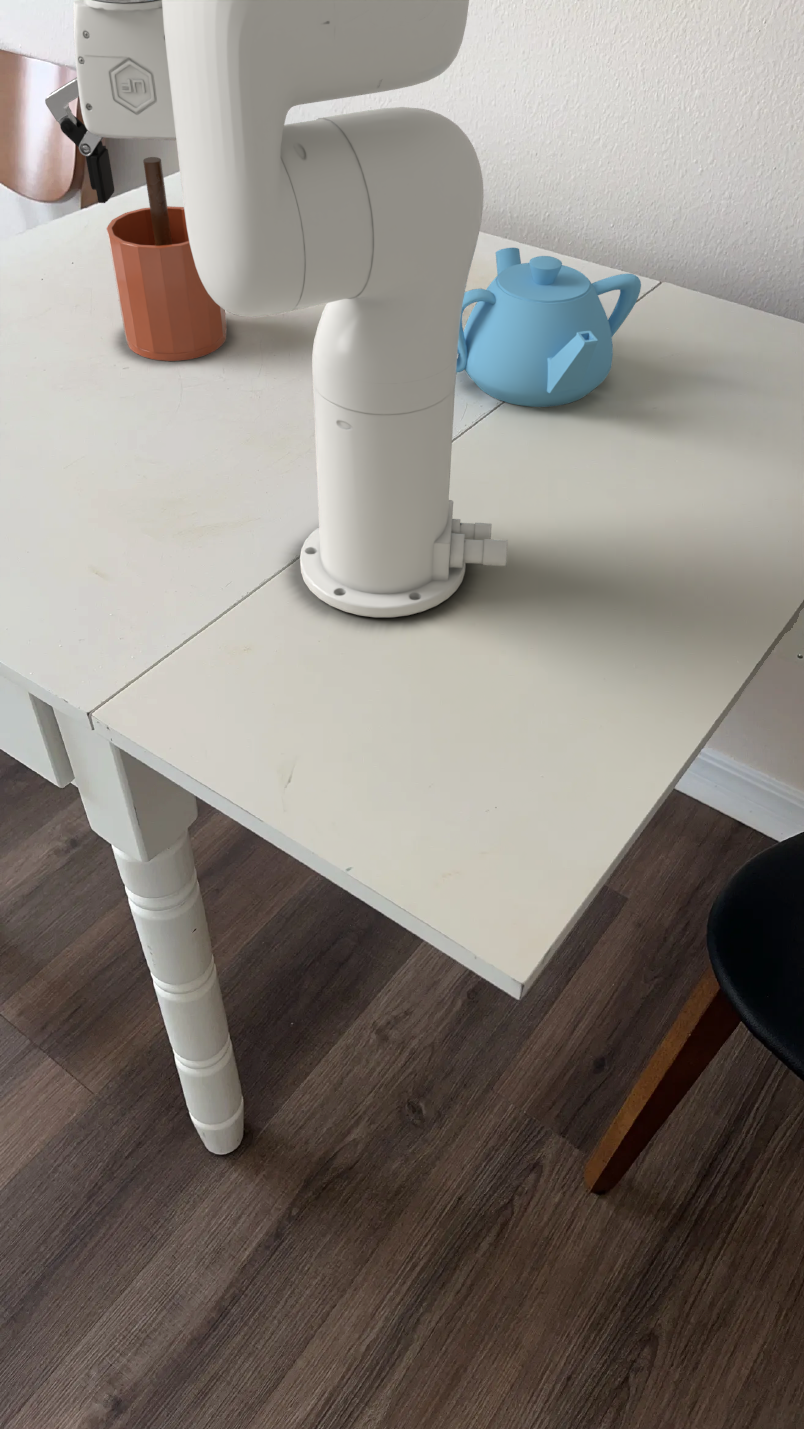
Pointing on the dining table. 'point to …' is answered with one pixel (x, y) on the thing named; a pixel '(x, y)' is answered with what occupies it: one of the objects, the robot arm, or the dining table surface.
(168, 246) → the holder
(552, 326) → the teapot
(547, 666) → the dining table surface
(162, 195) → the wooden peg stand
